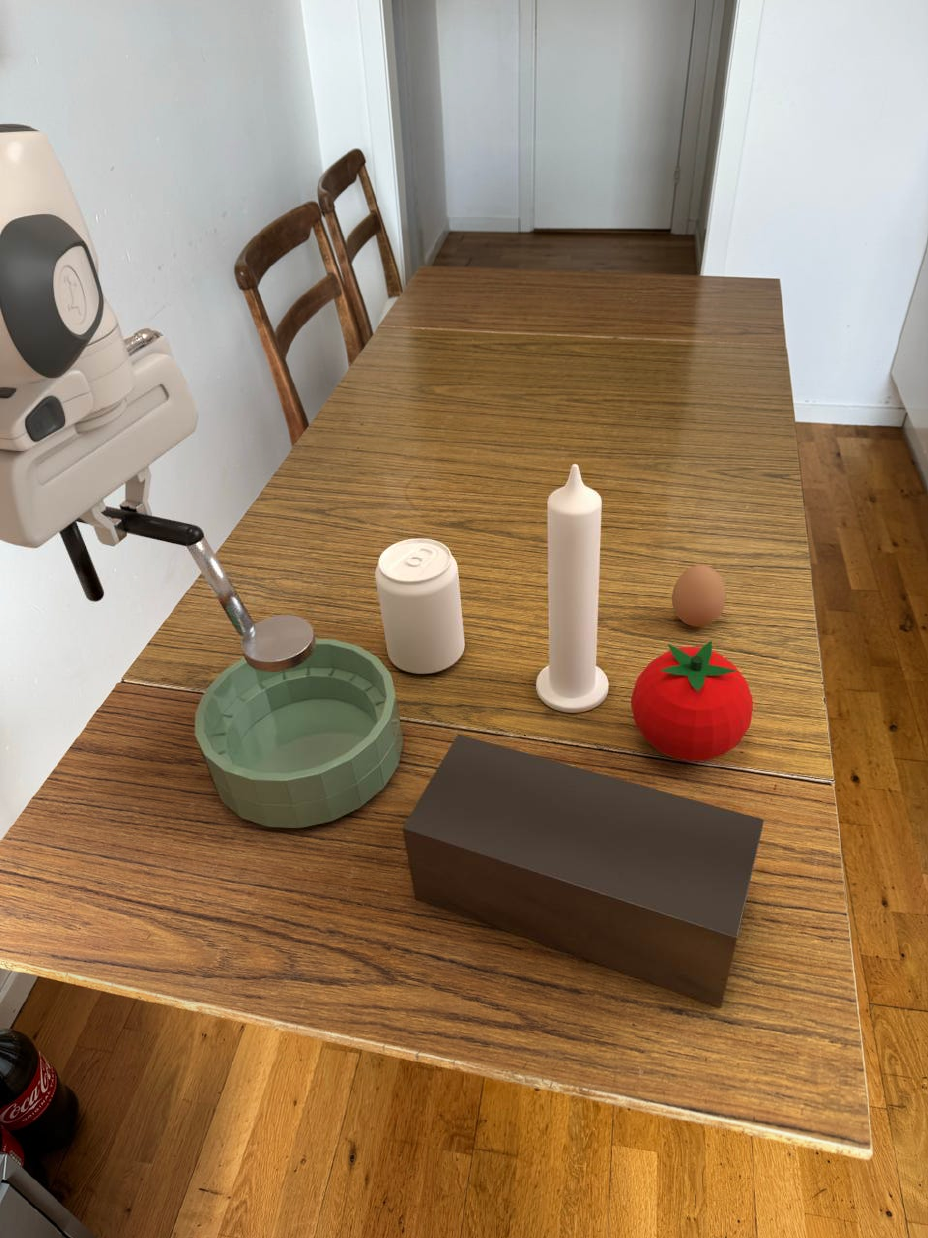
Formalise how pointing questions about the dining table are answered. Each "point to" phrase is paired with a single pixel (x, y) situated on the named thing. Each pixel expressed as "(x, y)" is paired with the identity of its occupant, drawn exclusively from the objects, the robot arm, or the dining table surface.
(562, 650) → the candle
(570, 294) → the dining table surface
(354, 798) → the bowl
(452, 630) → the beverage can
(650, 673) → the tomato
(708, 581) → the egg
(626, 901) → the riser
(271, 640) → the black and silver ladle
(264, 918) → the dining table surface
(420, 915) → the dining table surface
